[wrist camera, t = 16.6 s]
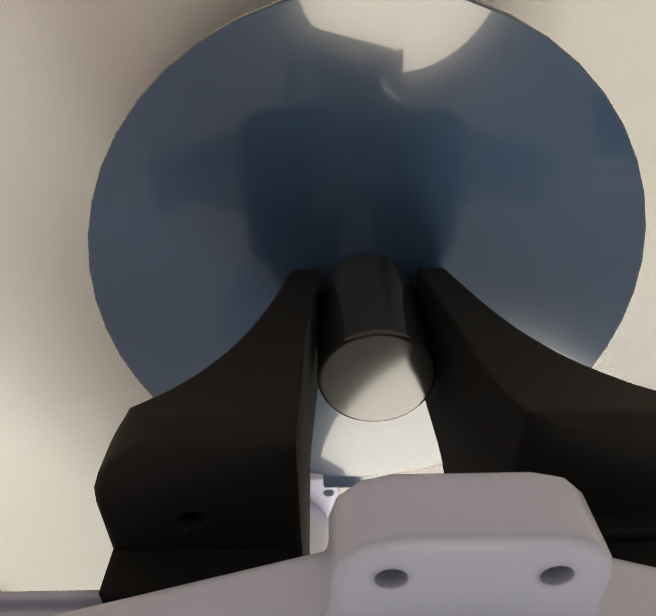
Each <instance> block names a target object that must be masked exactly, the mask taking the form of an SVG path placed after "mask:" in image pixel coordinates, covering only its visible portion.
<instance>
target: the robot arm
mask: <svg viewBox="0 0 656 616" xmlns="http://www.w3.org/2000/svg"><path fill="white" fill-rule="evenodd" d="M416 296H417V300H418V303H419V307H420V311H421V314H422V318H423V322H424V325H425V329H426V333H427V336H428V340H429V344H430V347H431V351H432V355H433V358H434V362H435V367H436V378H435V382H434V385H433V388H432V390H431V392H430V394H429V396H428V397H427V398H426V399H425V402H426V405H427V409H428V412H429V415H430V419H431V422H432V425H433V429H434V432H435V436H436V439H437V442H438V446H439V450H440V455H441V459H442V464H443V470H444V474H391V475H386V476H381V477H376V478H371V479H365V480H362V481H360V482H359V483H357V484H356V485H354V486H353V487H351V488H350V489H348V490H347V491H345V492H344V493H342V494H341V495H339V488H325V487H324V486H323V475H322V474H313V473H310V460H311V445H312V436H313V427H314V418H315V409H316V400H317V391H318V383H317V327H318V270H292V271H291V272H290V273H289V274H288V275H287V278H286V280H285V281H284V283H283V285H282V287H281V288H280V290H279V292H278V293H277V295H276V296H275V298H274V299H273V301H272V302H271V303H270V305H269V306H268V308H267V309H266V310H265V312H264V313H263V314H262V316H261V317H260V318H259V319H258V320H257V321H256V323H255V324H254V325H253V326H252V327H251V329H250V330H249V331H248V332H247V333H246V334H245V335H244V336H243V337H242V338H241V339H240V340H239V341H238V342H237V343H236V344H235V345H234V346H233V347H232V348H231V349H230V350H229V351H228V352H226V353H225V354H224V355H223V356H221V357H220V358H219V359H217V360H216V361H215V362H213V363H212V364H211V365H209V366H208V367H207V368H205V369H204V370H203V371H201V372H200V373H198V374H196V375H195V376H193V377H192V378H190V379H188V380H187V381H185V382H183V383H181V384H180V385H178V386H176V387H174V388H173V389H171V390H169V391H167V392H165V393H163V394H161V395H158V396H156V397H154V398H152V399H150V400H148V401H145V402H143V403H141V404H139V405H136V406H134V407H132V408H130V409H129V411H128V413H127V414H126V416H125V418H124V420H123V421H122V423H121V424H120V426H119V428H118V430H117V431H116V433H115V435H114V437H113V439H112V441H111V443H110V445H109V448H108V450H107V453H106V455H105V457H104V460H103V462H102V465H101V467H100V470H99V472H98V475H97V479H96V482H95V486H94V489H95V496H96V502H97V504H98V507H99V510H100V513H101V515H102V518H103V521H104V524H105V526H106V529H107V532H108V535H109V537H110V540H111V543H112V546H113V548H114V549H113V552H112V555H111V558H110V561H109V564H108V567H107V570H106V573H105V576H104V579H103V582H102V585H101V588H100V590H77V591H24V592H0V616H656V391H655V390H651V389H648V388H644V387H641V386H638V385H634V384H631V383H628V382H626V381H623V380H620V379H618V378H615V377H612V376H610V375H607V374H604V373H602V372H599V371H597V370H594V369H592V368H590V367H587V366H585V365H583V364H581V363H579V362H576V361H574V360H572V359H570V358H568V357H566V356H564V355H562V354H560V353H558V352H556V351H554V350H552V349H550V348H548V347H547V346H545V345H543V344H542V343H540V342H538V341H537V340H535V339H533V338H531V337H530V336H528V335H526V334H525V333H523V332H522V331H520V330H519V329H517V328H516V327H514V326H513V325H512V324H510V323H509V322H507V321H506V320H505V319H503V318H502V317H501V316H499V315H498V314H497V313H495V312H494V311H493V310H491V309H490V308H489V307H488V306H487V305H485V304H484V303H483V302H482V301H480V300H479V299H478V298H477V297H476V296H475V295H473V294H472V293H471V292H470V291H469V290H468V289H467V288H466V287H464V286H463V285H462V284H461V283H460V282H459V281H458V280H457V279H456V278H455V277H453V276H452V275H451V274H450V273H449V272H448V271H447V270H445V269H444V268H418V271H417V282H416ZM327 489H330V490H327Z"/></svg>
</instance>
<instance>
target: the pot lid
mask: <svg viewBox="0 0 656 616" xmlns="http://www.w3.org/2000/svg"><path fill="white" fill-rule="evenodd" d="M645 230H646V222H645V199H644V190H643V185H642V180H641V175H640V170H639V166H638V161H637V158H636V155H635V152H634V150H633V147H632V145H631V142H630V139H629V137H628V134H627V132H626V129H625V126H624V124H623V123H622V121H621V119H620V118H619V116H618V114H617V113H616V111H615V109H614V108H613V106H612V104H611V103H610V101H609V99H608V98H607V96H606V94H605V93H604V92H603V90H602V89H601V88H600V87H599V86H598V84H597V83H596V82H595V81H594V80H593V79H592V77H591V76H590V75H589V74H588V73H587V72H586V70H585V69H584V68H583V67H582V66H581V65H580V63H579V62H577V61H576V60H575V59H574V58H573V57H571V56H570V55H569V54H568V53H567V52H565V51H564V50H563V49H562V48H561V47H560V46H558V45H557V44H556V43H555V42H554V41H552V40H551V39H550V38H549V37H548V36H546V35H544V34H543V33H541V32H539V31H538V30H536V29H534V28H532V27H531V26H529V25H527V24H526V23H524V22H522V21H521V20H519V19H517V18H516V17H514V16H512V15H510V14H508V13H506V12H503V11H500V10H498V9H495V8H493V7H490V6H488V5H485V4H483V3H480V2H477V1H475V0H277V1H275V2H272V3H270V4H267V5H265V6H262V7H260V8H257V9H255V10H253V11H250V12H248V13H245V14H243V15H240V16H239V17H237V18H235V19H234V20H232V21H230V22H229V23H227V24H225V25H223V26H222V27H220V28H218V29H217V30H215V31H213V32H212V33H210V34H208V35H207V36H205V37H203V38H202V39H201V40H199V41H198V42H197V43H196V44H195V45H193V46H192V47H191V48H190V49H188V50H187V51H186V52H185V53H184V54H182V55H181V56H180V57H179V58H177V59H176V60H175V61H174V62H173V63H171V64H170V65H169V66H168V67H167V68H165V69H164V71H163V72H162V73H161V74H160V75H159V76H158V77H157V78H156V80H155V81H154V82H153V83H152V84H151V85H150V86H149V87H148V88H147V90H146V91H145V92H144V93H143V94H142V95H141V96H140V97H139V98H138V100H137V101H136V103H135V104H134V106H133V107H132V109H131V110H130V112H129V113H128V115H127V117H126V118H125V120H124V121H123V123H122V124H121V126H120V127H119V129H118V130H117V132H116V134H115V136H114V138H113V141H112V143H111V145H110V147H109V149H108V152H107V154H106V156H105V158H104V161H103V163H102V165H101V168H100V171H99V175H98V179H97V183H96V186H95V190H94V194H93V198H92V201H91V210H90V220H89V229H88V249H89V269H90V274H91V279H92V283H93V288H94V293H95V298H96V302H97V305H98V307H99V310H100V313H101V316H102V319H103V321H104V324H105V327H106V329H107V331H108V333H109V335H110V337H111V339H112V341H113V343H114V345H115V346H116V348H117V350H118V352H119V354H120V356H121V357H122V359H123V360H124V361H125V363H126V364H127V366H128V367H129V369H130V370H131V371H132V373H133V374H134V376H135V377H136V378H137V380H138V381H139V382H140V383H141V384H142V385H143V386H144V387H145V388H146V389H147V391H148V392H149V393H150V394H151V395H152V396H153V397H156V396H158V395H161V394H163V393H165V392H167V391H169V390H171V389H173V388H174V387H176V386H178V385H180V384H181V383H183V382H185V381H187V380H188V379H190V378H192V377H193V376H195V375H196V374H198V373H200V372H201V371H203V370H204V369H205V368H207V367H208V366H209V365H211V364H212V363H213V362H215V361H216V360H217V359H219V358H220V357H221V356H223V355H224V354H225V353H226V352H228V351H229V350H230V349H231V348H232V347H233V346H234V345H235V344H236V343H237V342H238V341H239V340H240V339H241V338H242V337H243V336H244V335H245V334H246V333H247V332H248V331H249V330H250V329H251V327H252V326H253V325H254V324H255V323H256V321H257V320H258V319H259V318H260V317H261V316H262V314H263V313H264V312H265V310H266V309H267V308H268V306H269V305H270V303H271V302H272V301H273V299H274V298H275V296H276V295H277V293H278V292H279V290H280V288H281V287H282V285H283V283H284V281H285V280H286V278H287V275H288V274H289V273H290V272H291V271H292V270H318V327H317V383H318V391H317V400H316V409H315V418H314V427H313V436H312V445H311V460H310V473H313V474H322V475H330V476H376V475H390V474H396V473H403V472H409V471H416V470H420V469H424V468H428V467H433V466H437V465H441V464H442V459H441V455H440V450H439V446H438V442H437V439H436V436H435V432H434V429H433V425H432V422H431V419H430V415H429V412H428V409H427V405H426V402H425V399H426V398H427V397H428V396H429V394H430V392H431V390H432V388H433V385H434V382H435V378H436V367H435V362H434V358H433V355H432V351H431V347H430V344H429V340H428V336H427V333H426V329H425V325H424V322H423V318H422V314H421V311H420V307H419V303H418V300H417V296H416V282H417V271H418V268H444V269H445V270H447V271H448V272H449V273H450V274H451V275H452V276H453V277H455V278H456V279H457V280H458V281H459V282H460V283H461V284H462V285H463V286H464V287H466V288H467V289H468V290H469V291H470V292H471V293H472V294H473V295H475V296H476V297H477V298H478V299H479V300H480V301H482V302H483V303H484V304H485V305H487V306H488V307H489V308H490V309H491V310H493V311H494V312H495V313H497V314H498V315H499V316H501V317H502V318H503V319H505V320H506V321H507V322H509V323H510V324H512V325H513V326H514V327H516V328H517V329H519V330H520V331H522V332H523V333H525V334H526V335H528V336H530V337H531V338H533V339H535V340H537V341H538V342H540V343H542V344H543V345H545V346H547V347H548V348H550V349H552V350H554V351H556V352H558V353H560V354H562V355H564V356H566V357H568V358H570V359H572V360H574V361H576V362H579V363H581V364H583V365H585V366H587V367H590V368H591V367H592V366H593V365H594V363H595V362H596V361H597V359H598V358H599V357H600V355H601V354H602V353H603V351H604V350H605V349H606V347H607V346H608V344H609V342H610V340H611V339H612V337H613V335H614V333H615V332H616V330H617V328H618V326H619V325H620V323H621V321H622V319H623V317H624V314H625V312H626V310H627V307H628V305H629V302H630V300H631V298H632V295H633V293H634V290H635V286H636V282H637V278H638V274H639V271H640V267H641V263H642V257H643V248H644V239H645Z"/></svg>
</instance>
